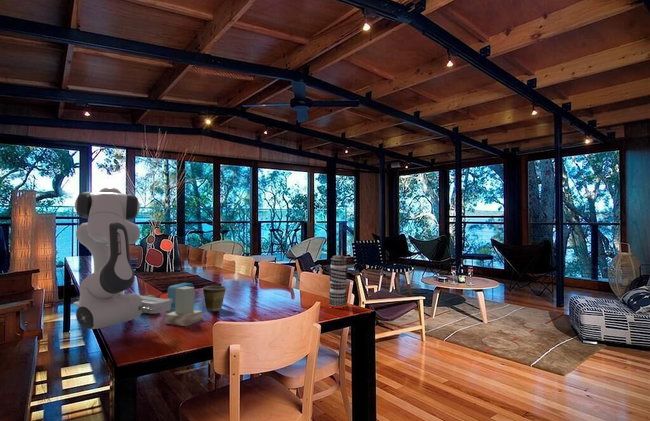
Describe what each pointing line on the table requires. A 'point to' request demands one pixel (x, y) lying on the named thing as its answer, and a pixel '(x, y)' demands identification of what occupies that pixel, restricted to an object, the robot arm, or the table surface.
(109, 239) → the robot arm
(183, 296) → the sage block
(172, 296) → the blue rounded box
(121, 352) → the table surface
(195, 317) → the birch block
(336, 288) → the decorative candle
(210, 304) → the ceramic cup
